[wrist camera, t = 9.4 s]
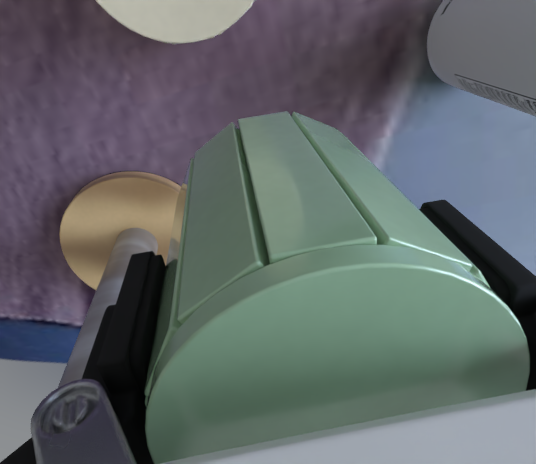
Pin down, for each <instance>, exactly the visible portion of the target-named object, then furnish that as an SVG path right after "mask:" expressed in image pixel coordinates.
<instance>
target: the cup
mask: <svg viewBox="0 0 536 464" xmlns="http://www.w3.org/2000/svg"><path fill="white" fill-rule="evenodd" d="M95 1H96V2H97V3H98V4H99V5H100V6H101V7H102V8H103V9H104V10H105V11H106V12H107V13H108V14H109V15H110V16H112V17H113V18H114V19H115V20H116V21H118V22H119V23H120V24H122V25H123V26H125V27H127V28H128V29H130V30H131V31H134V32H136V33H138V34H140V35H142V36H144V37H147V38H150V39H153V40H156V41H161V42H164V43H172V44H182V43H193V42H198V41H202V40H206V39H211V38H214V37H215V36H216V35H221V34H222V33H223V32H224V31H225V30H226V29H228V28H229V27H230V26H232V25H233V24H234V23H236V22H237V21H238V20H239V19H240V18H241V17H242V16H243V15H244V14H245V13H246V11H247V10H249V9H250V8H251V7H252V3H253V2H254V1H256V0H95Z"/></svg>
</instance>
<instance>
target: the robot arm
mask: <svg viewBox="0 0 536 464" xmlns="http://www.w3.org/2000/svg"><path fill="white" fill-rule="evenodd" d="M419 210H420V211H421V212H422V213H423V214H424V215H425V216H426V217H427V218H428V219H429V220H430V221H431V222H432V223H433V224H434V225H435V226H436V227H437V228H438V229H439V230H440V231H441V232H442V233H443V234H444V235H445V236H446V237H447V238H448V239H449V240H450V241H451V242H452V243H453V244H454V245H455V246H456V247H457V248H458V249H459V250H460V251H461V252H462V253H463V254H464V255H465V256H466V257H467V258H468V259H469V260H470V261H471V262H472V263H473V264H474V265H475V266H476V267H477V268H478V269H479V270H480V271H481V273H482V274H483V276H484V278H485V279H486V281H487V283H488V284H489V286H490V288H491V289H492V290H493V291H494V292H495V293H496V294H497V295H498V296H499V297H500V298H501V299H502V300H503V301H504V302H505V303H506V304H507V305H508V307H509V308H510V309H511V311H512V312H513V313H514V315H515V316H516V317H517V319H518V320H519V322H520V324H521V327H522V329H523V331H524V333H525V335H526V338H527V343H528V348H529V352H530V375H529V380H528V385H527V389H526V391H523V392H517V393H512V394H507V395H502V396H496V397H491V398H486V399H481V400H475V401H470V402H465V403H460V404H454V405H449V406H444V407H439V408H433V409H428V410H423V411H418V412H413V413H408V414H403V415H398V416H393V417H387V418H382V419H377V420H372V421H367V422H362V423H357V424H352V425H347V426H342V427H336V428H331V429H326V430H321V431H316V432H311V433H306V434H301V435H296V436H291V437H286V438H281V439H276V440H271V441H266V442H261V443H257V444H252V445H247V446H242V447H237V448H232V449H227V450H222V451H217V452H212V453H207V454H202V455H197V456H192V457H188V458H183V459H179V460H174V461H170V462H165V463H160V464H536V276H535V275H533V274H532V273H531V272H530V271H529V270H528V269H526V268H525V267H524V266H523V265H522V264H520V263H519V262H518V261H517V260H516V259H515V258H513V257H512V256H511V255H510V254H509V253H507V252H506V251H505V250H504V249H503V248H502V247H500V246H499V245H498V244H497V243H496V242H495V241H493V240H492V239H491V238H490V237H489V236H487V235H486V234H485V233H484V232H483V231H482V230H480V229H479V228H478V227H477V226H476V225H474V224H473V223H472V222H471V221H470V220H469V219H467V218H466V217H465V216H464V215H463V214H461V213H460V212H459V211H458V210H457V209H456V208H454V207H453V206H452V205H451V204H450V203H448V202H447V201H446V200H438V201H433V202H427V203H423V204H422V206H421V209H419ZM165 268H166V266H165V262H164V259H163V257H162V255H155V253H154V252H153V251H148V252H143V253H137V254H132V255H131V258H130V261H129V264H128V267H127V270H126V273H125V277H124V280H123V283H122V286H121V289H120V292H119V296H118V299H117V302H116V304H115V305H109V306H108V307H107V308H106V310H105V312H104V315H103V318H102V321H101V324H100V327H99V330H98V333H97V335H96V338H95V341H94V344H93V347H92V350H91V353H90V356H89V359H88V362H87V364H86V367H85V370H84V373H83V376H82V379H80V380H74V381H71V382H69V383H67V384H64V385H62V386H60V387H59V388H57V389H56V390H54V391H53V392H51V393H50V394H49V395H48V396H47V397H46V398H45V399H44V400H43V401H42V402H41V403H40V405H39V406H38V407H37V409H36V410H35V412H34V414H33V417H32V419H31V434H32V438H31V439H29V440H28V441H27V442H25V443H24V444H23V445H22V446H21V447H19V448H18V449H17V450H16V451H14V452H13V453H12V454H11V455H9V456H8V457H7V458H6V459H4V460H3V461H2V462H1V463H0V464H154V463H153V461H152V458H151V455H150V452H149V449H148V447H147V442H146V434H145V417H146V406H145V398H146V396H145V393H144V391H145V385H146V380H147V374H148V368H149V362H150V356H151V350H152V344H153V338H154V333H155V327H156V321H157V315H158V309H159V303H160V297H161V291H162V286H163V280H164V274H165Z"/></svg>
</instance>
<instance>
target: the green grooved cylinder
mask: <svg viewBox="0 0 536 464" xmlns="http://www.w3.org/2000/svg"><path fill="white" fill-rule="evenodd" d="M238 127H239V129H238ZM238 127H237V126H236V125H235V124H234V123H233V122H232V123H230V124H229V125H228V126H227V127H225V128H224V129H223V130H222V131H220V132H219V133H218V134H217V135H216V136H214V137H213V138H212V139H211V140H210V141H208V142H207V143H206V144H205V145H204V146H202V147H201V148H200V149H199V150H198V151H196V152H195V155H194V158H191V159H190V162H189V165H188V168H187V171H186V174H185V177H184V180H183V183H182V186H181V189H180V192H179V195H178V198H177V203H176V209H175V215H174V221H173V227H172V233H171V239H170V245H169V250H168V256H167V262H166V268H165V274H164V280H163V286H162V291H161V297H160V303H159V309H158V315H157V321H156V327H155V333H154V338H153V344H152V350H151V356H150V362H149V368H148V374H147V380H146V385H145V391H144V393H145V396H146V398H145V406H146V417H145V434H146V442H147V447H148V449H149V452H150V455H151V458H152V461H153V463H154V464H160V463H165V462H170V461H174V460H179V459H183V458H188V457H192V456H197V455H202V454H207V453H212V452H217V451H222V450H227V449H232V448H237V447H242V446H247V445H252V444H257V443H261V442H266V441H271V440H276V439H281V438H286V437H291V436H296V435H301V434H306V433H311V432H316V431H321V430H326V429H331V428H336V427H342V426H347V425H352V424H357V423H362V422H367V421H372V420H377V419H382V418H387V417H393V416H398V415H403V414H408V413H413V412H418V411H423V410H428V409H433V408H439V407H444V406H449V405H454V404H460V403H465V402H470V401H475V400H481V399H486V398H491V397H496V396H502V395H507V394H512V393H517V392H523V391H526V389H527V385H528V380H529V375H530V352H529V348H528V343H527V338H526V335H525V333H524V331H523V329H522V327H521V324H520V322H519V320H518V319H517V317H516V316H515V315H514V313H513V312H512V311H511V309H510V308H509V307H508V305H507V304H506V303H505V302H504V301H503V300H502V299H501V298H500V297H499V296H498V295H497V294H496V293H495V292H494V291H493V290H492V289H491V288H490V286H489V284H488V283H487V281H486V279H485V278H484V276H483V274H482V273H481V271H480V270H479V269H478V268H477V267H476V266H475V265H474V264H473V263H472V262H471V261H470V260H469V259H468V258H467V257H466V256H465V255H464V254H463V253H462V252H461V251H460V250H459V249H458V248H457V247H456V246H455V245H454V244H453V243H452V242H451V241H450V240H449V239H448V238H447V237H446V236H445V235H444V234H443V233H442V232H441V231H440V230H439V229H438V228H437V227H436V226H435V225H434V224H433V223H432V222H431V221H430V220H429V219H428V218H427V217H426V216H425V215H424V214H423V213H422V212H421V211H420V210H419V209H418V208H417V207H416V206H415V205H414V204H413V203H412V202H411V201H410V200H409V199H408V198H407V197H406V196H405V195H404V194H403V193H402V192H401V191H400V190H399V189H398V188H397V187H396V186H395V185H394V184H393V183H392V182H391V181H390V180H389V179H388V178H387V177H386V176H385V175H384V174H383V173H382V172H381V171H380V170H379V169H378V168H377V167H376V166H375V165H374V164H373V163H372V162H371V161H370V160H369V159H368V158H367V157H366V156H365V155H363V154H362V153H361V152H360V151H359V150H358V149H357V148H356V147H355V146H354V145H353V144H352V143H351V142H350V141H349V140H348V139H347V138H346V137H345V136H344V135H343V134H342V133H340V132H339V131H338V130H337V129H336V128H333V127H331V126H328V125H326V124H323V123H321V122H318V121H316V120H313V119H311V118H308V117H306V116H303V115H301V114H298V113H296V112H293V113H292V115H290V114H289V113H288V112H287V111H285V112H279V113H273V114H267V115H261V116H255V117H248V118H242V119H238Z"/></svg>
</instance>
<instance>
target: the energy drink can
mask: <svg viewBox="0 0 536 464" xmlns="http://www.w3.org/2000/svg"><path fill="white" fill-rule="evenodd" d="M427 53H428V60H429V62H430V65H431V68H432V69H433V71H434V72H435V74H436V75H437V76H438V77H439V78H440V79H441V80H442V81H443V82H445V83H447V84H449V85H451V86H454V87H456V88H459V89H462V90H465V91H467V92H470V93H473V94H476V95H478V96H481V97H484V98H487V99H489V100H492V101H495V102H498V103H500V104H503V105H506V106H509V107H511V108H514V109H517V110H520V111H522V112H525V113H528V114H531V115H533V116H536V0H443V2H442V3H441V4H440V6H439V8H438V9H437V11H436V13H435V15H434V17H433V19H432V22H431V25H430V28H429V32H428V37H427Z"/></svg>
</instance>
